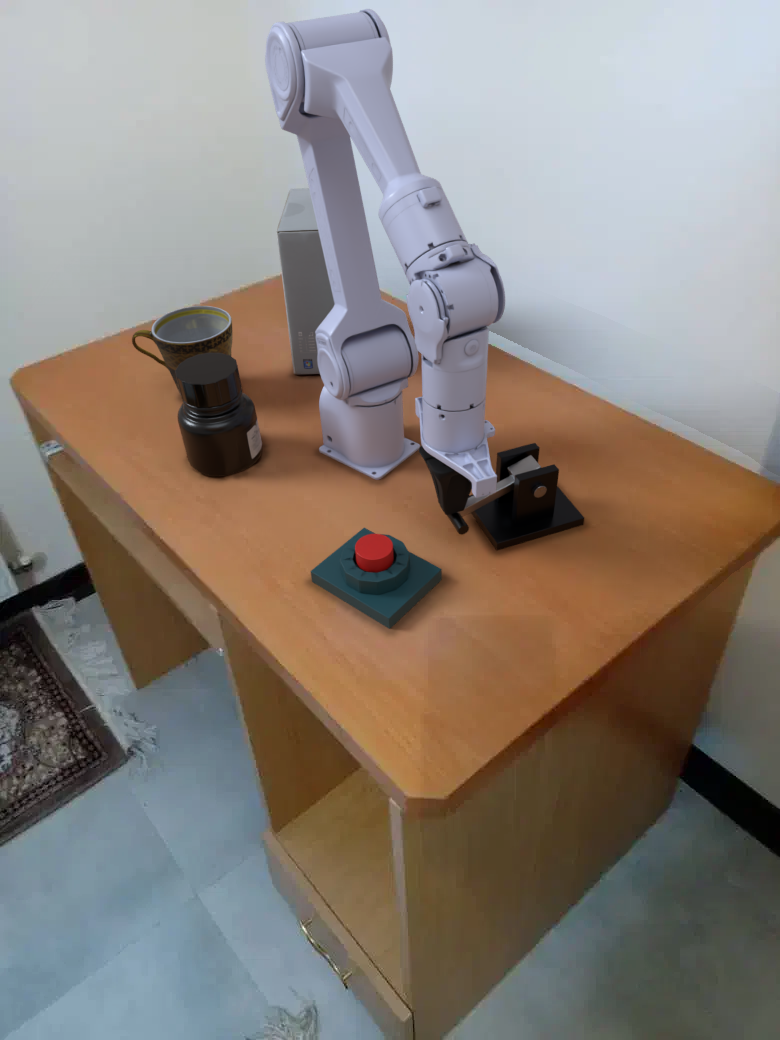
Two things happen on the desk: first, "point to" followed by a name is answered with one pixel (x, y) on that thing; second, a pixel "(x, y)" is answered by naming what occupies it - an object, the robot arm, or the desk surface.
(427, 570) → the button box
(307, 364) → the hard drive box
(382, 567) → the power button
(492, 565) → the desk surface
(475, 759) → the desk surface
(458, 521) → the switch lever
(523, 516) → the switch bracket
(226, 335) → the ceramic cup
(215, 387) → the ink bottle
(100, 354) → the desk surface
